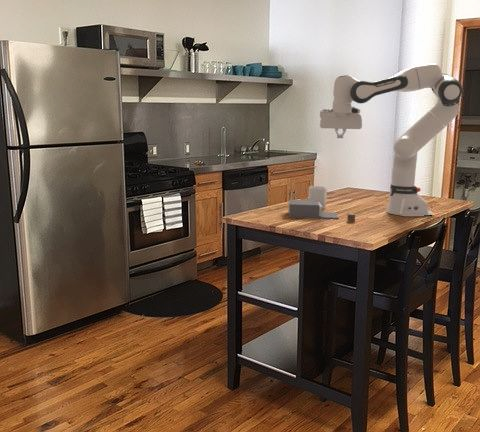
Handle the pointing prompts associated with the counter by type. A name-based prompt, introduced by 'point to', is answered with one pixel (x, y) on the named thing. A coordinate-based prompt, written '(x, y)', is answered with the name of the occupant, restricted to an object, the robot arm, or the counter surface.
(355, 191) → the counter surface
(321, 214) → the white bracket
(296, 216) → the housing
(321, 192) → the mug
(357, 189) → the counter surface
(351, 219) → the pedestal
